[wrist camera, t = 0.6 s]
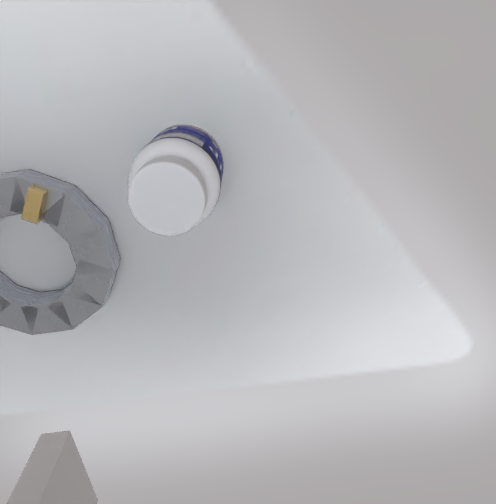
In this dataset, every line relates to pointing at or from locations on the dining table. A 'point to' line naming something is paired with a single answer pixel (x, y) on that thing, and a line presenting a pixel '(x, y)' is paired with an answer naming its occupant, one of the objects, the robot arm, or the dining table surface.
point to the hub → (81, 244)
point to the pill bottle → (175, 180)
